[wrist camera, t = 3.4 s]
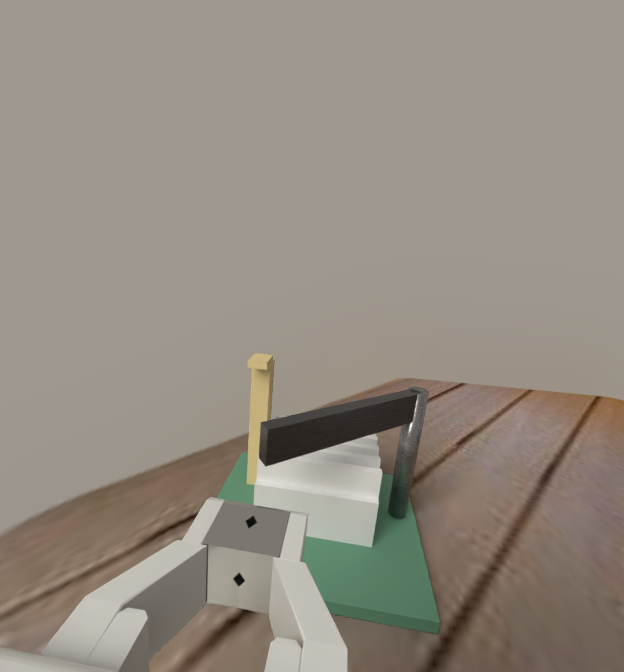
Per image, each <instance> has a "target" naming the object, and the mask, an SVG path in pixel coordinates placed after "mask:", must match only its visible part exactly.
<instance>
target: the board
mask: <svg viewBox="0 0 624 672" xmlns="http://www.w3.org/2000/svg"><path fill="white" fill-rule="evenodd" d="M274 361H275V360H274V359H273V355H265V354H258V353H255V354H254V355H253V356H252V357H251V358H250V359H249V360H248V368H252V380H251V382H252V383H251V401H250V424H249V443H248V453H244V452H242V454H241V455H240V457H239V459H238V461H237V463H236V464H235V466H234V468H233V470H232V471H231V473H230V475H229V477H228V478H227V480H226V482H225V484H224V485H223V487H222V489H221V491H220V493H219V494H218V496H217V498H218V499H223V500H230V501H235V502H241V503H246V504H251V505H256V506H263V507H269V508H276V509H282V510H289V511H298V512H305V513H308V524H307V533H306V542H305V551H304V560H303V562H304V563H306V564H307V566H308V569H309V571H310V573H311V575H312V577H313V579H314V581H315V583H316V585H317V587H318V589H319V591H320V593H321V596H322V598H323V600H324V602H325V604H326V606H327V608H328V610H329V612H330V614H335V615H340V616H345V617H351V618H356V619H361V620H366V621H371V622H377V623H382V624H387V625H392V626H397V627H402V628H408V629H413V630H418V631H423V632H428V633H434V634H438V630H439V626H440V620H439V616H438V611H437V607H436V603H435V599H434V595H433V591H432V587H431V582H430V578H429V574H428V570H427V566H426V562H425V558H424V553H423V549H422V545H421V541H420V537H419V533H418V529H417V524H416V520H415V516H414V512H413V508H412V504H411V500H410V496H409V502H408V507H407V512H406V516H405V517H404V518H402V519H397V518H394V517H392V516H391V515H390V514H389V513H388V504H389V499H390V493H391V487H392V481H393V475H390V474H384V473H382V469H379V468H380V462H381V460H380V457H378V454H379V446H377V441H378V439H377V436H376V433H375V434H372V435H369V436H365V437H362V438H359V439H355V440H352V441H349V442H345V443H342V444H339V445H336V446H332V447H329V448H326V449H322V450H319V451H316V452H313V453H309V454H306V455H303V456H299V457H296V458H293V459H289V460H286V461H283V462H280V463H276V464H273V465H270V466H266V467H265V465H264V464H263V463H262V462H261V460H260V459H259V443H260V426H261V422H264V421H268V420H271V408H272V392H273V377H274ZM286 416H287V415H279V414H278V415H277V416H276V419H277V418H282V417H286Z"/></svg>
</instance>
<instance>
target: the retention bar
mask: <svg viewBox="0 0 624 672" xmlns="http://www.w3.org/2000/svg"><path fill="white" fill-rule="evenodd" d="M428 394H429V392H428V391H427V390H425V389H423V388H420V387H409V388H408V390H404V391H400V392H395V393H391V394H386V395H382V396H377V397H373V398H368V399H364V400H359V401H354V402H350V403H345V404H341V405H336V406H332V407H327V408H323V409H318V410H314V411H309V412H305V413H300V414H296V415H291V416H286V417H282V418H277V419H273V420H268V421H264V422H261V426H260V443H259V459H260V460H261V462H262V463H263V464H264V465H265V467H266V466H270V465H273V464H276V463H280V462H283V461H286V460H289V459H293V458H296V457H299V456H303V455H306V454H309V453H313V452H316V451H319V450H322V449H326V448H329V447H332V446H336V445H339V444H342V443H345V442H349V441H352V440H355V439H359V438H362V437H365V436H369V435H372V434H375V433H378V432H382V431H385V430H388V429H392V428H395V427H398V426H401V425H402V428H401V434H400V440H399V445H398V451H397V457H396V463H395V469H394V475H393V481H392V487H391V493H390V499H389V504H388V513H389V514H390V515H391V516H392V517H394V518H397V519H402V518H404V517H405V516H406V512H407V507H408V502H409V496H410V491H411V485H412V480H413V475H414V469H415V464H416V459H417V453H418V448H419V442H420V437H421V432H422V426H423V421H424V416H425V410H426V405H427V399H428Z"/></svg>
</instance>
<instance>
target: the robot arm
mask: <svg viewBox="0 0 624 672" xmlns="http://www.w3.org/2000/svg"><path fill="white" fill-rule="evenodd" d="M307 524H308V513H305V512H298V511H289V510H282V509H276V508H269V507H263V506H256V505H251V504H246V503H241V502H235V501H230V500H223V499H218V498H213V497H210V498H209V499H207V500H206V502H205V503H204V505H203V507H202V508H201V510H200V512H199V513H198V515H197V517H196V518H195V520H194V522H193V523H192V525H191V527H190V528H189V530H188V532H187V533H186V535H185V537H184V538H183V540H182V541H179V540H176V541H175V542H173V543H171V544H170V545H168V546H166V547H165V548H163V549H162V550H160V551H158V552H157V553H155V554H153V555H152V556H150V557H149V558H147V559H145V560H144V561H142V562H140V563H139V564H137V565H136V566H134V567H132V568H131V569H129V570H127V571H126V572H124V573H123V574H121V575H119V576H118V577H116V578H114V579H113V580H111V581H110V582H108V583H106V584H105V585H103V586H101V587H100V588H98V589H97V590H95V591H93V592H92V593H90V594H88V595H87V596H85V597H84V599H83V600H82V601H81V602H80V604H79V605H78V606H77V607H76V609H75V610H74V611H73V613H72V614H71V615H70V616H69V618H68V619H67V620H66V621H65V623H64V624H63V625H62V626H61V628H60V629H59V630H58V632H57V633H56V634H55V635H54V637H53V638H52V639H51V640H50V642H49V643H48V644H47V645H46V647H45V648H44V649H43V651H42V652H41V653H40V654H39V655H38V654H34V653H29V652H24V651H20V650H15V649H11V648H6V647H1V646H0V672H150V671H149V660H150V659H151V658H152V657H153V656H154V655H155V654H156V653H157V652H159V651H160V650H161V649H162V648H163V647H164V646H165V645H166V644H167V643H168V642H169V641H170V640H171V639H172V638H173V637H174V636H175V635H176V634H177V633H178V632H179V631H180V630H181V629H182V628H183V627H184V626H185V625H186V624H187V623H188V622H189V621H190V620H191V619H192V618H193V617H194V616H195V615H196V614H197V613H198V612H199V611H200V610H201V609H202V608H203V607H204V606H205V605H206V603H212V604H219V605H225V606H231V607H238V608H242V609H246V610H251V611H255V612H260V613H264V614H268V615H269V619H270V623H271V627H272V631H273V635H274V639H275V640H273V641H272V642H271V644H270V649H269V653H268V658H267V662H266V667H265V671H264V672H347V648H346V645H345V643H344V641H343V639H342V637H341V635H340V633H339V631H338V629H337V627H336V625H335V623H334V620H333V618H332V616H331V614H330V612H329V610H328V608H327V606H326V604H325V602H324V600H323V598H322V596H321V593H320V591H319V589H318V587H317V585H316V583H315V581H314V579H313V577H312V575H311V573H310V571H309V569H308V566H307V564H306V563H304V562H303V560H304V551H305V542H306V533H307Z"/></svg>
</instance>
